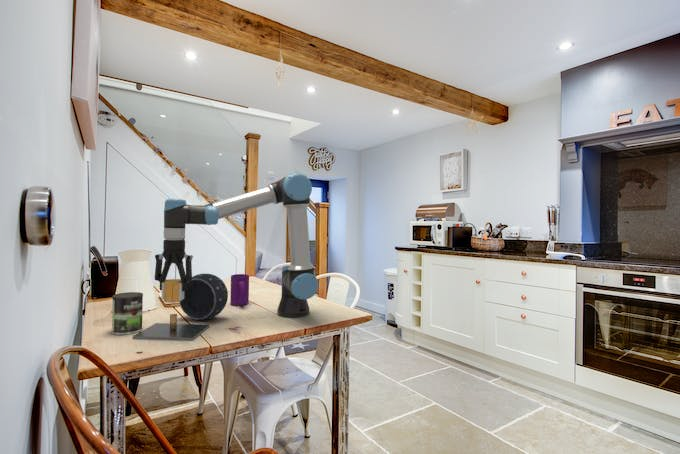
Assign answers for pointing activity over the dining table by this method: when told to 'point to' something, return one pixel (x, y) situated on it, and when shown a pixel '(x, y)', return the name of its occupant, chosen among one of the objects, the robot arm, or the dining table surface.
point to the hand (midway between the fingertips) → (172, 298)
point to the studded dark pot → (204, 297)
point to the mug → (239, 290)
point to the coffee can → (127, 313)
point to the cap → (171, 290)
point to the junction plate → (172, 331)
